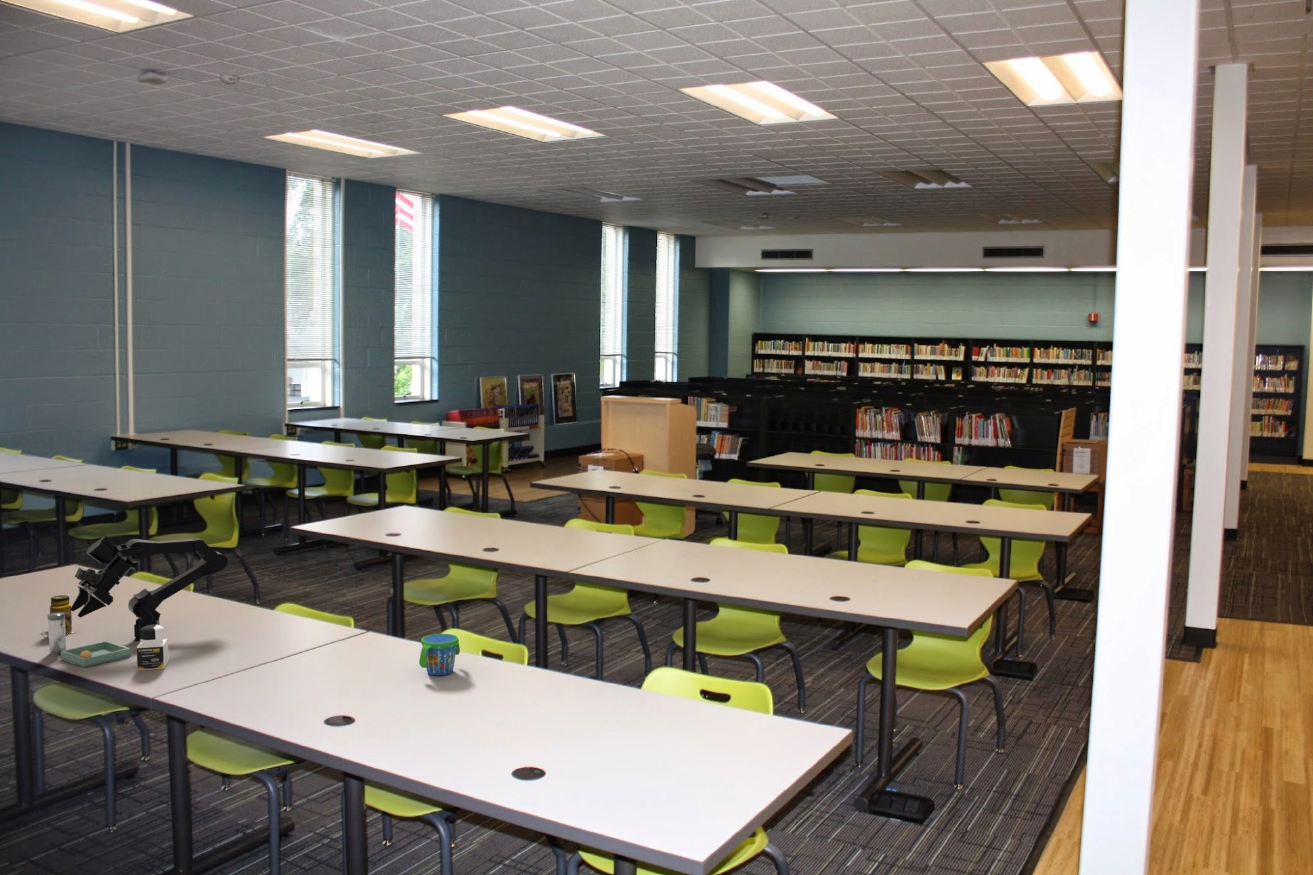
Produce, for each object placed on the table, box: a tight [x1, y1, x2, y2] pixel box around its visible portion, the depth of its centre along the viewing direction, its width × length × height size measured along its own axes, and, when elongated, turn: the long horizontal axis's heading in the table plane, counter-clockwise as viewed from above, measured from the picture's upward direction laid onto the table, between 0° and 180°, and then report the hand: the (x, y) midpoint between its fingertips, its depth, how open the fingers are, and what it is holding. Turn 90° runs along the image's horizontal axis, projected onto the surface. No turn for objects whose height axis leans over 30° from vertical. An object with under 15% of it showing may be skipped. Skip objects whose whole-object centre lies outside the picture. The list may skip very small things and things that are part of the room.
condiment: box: [40, 594, 76, 638], centre depth 331 cm, size 7×8×12 cm
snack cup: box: [418, 633, 461, 676], centre depth 296 cm, size 16×10×10 cm
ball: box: [80, 650, 92, 658], centre depth 302 cm, size 3×3×3 cm
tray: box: [60, 640, 132, 669], centre depth 306 cm, size 14×14×2 cm
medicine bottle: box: [136, 624, 169, 671], centre depth 299 cm, size 7×7×12 cm
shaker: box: [47, 613, 67, 656], centre depth 310 cm, size 5×5×12 cm
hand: (75, 613), depth 313 cm, fingers open, 9 cm apart
